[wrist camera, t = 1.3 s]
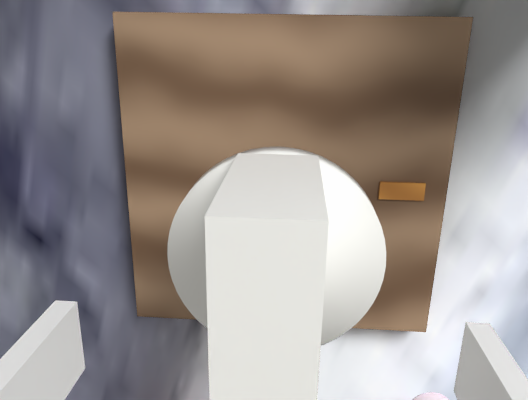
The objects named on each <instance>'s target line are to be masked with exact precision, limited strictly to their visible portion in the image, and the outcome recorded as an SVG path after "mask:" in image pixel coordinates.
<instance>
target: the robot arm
mask: <svg viewBox="0 0 528 400" xmlns="http://www.w3.org/2000/svg"><path fill="white" fill-rule="evenodd" d="M84 369H85V363H84V355H83V346H82V338H81V330H80V322H79V314H78V306H77V302H74V301H55V302H54V303H53V304H52V305H51V306H50V307H49V308H48V309H47V310H46V311H45V312H44V313H43V314H42V315H41V316H40V317H39V319H38V320H37V321H36V322H35V323H34V324H33V325H32V326H31V327H30V328H29V329H28V330H27V331H26V332H25V333H24V334H23V336H22V337H21V338H20V339H19V340H18V341H17V342H16V343H15V344H14V345H13V346H12V347H11V348H10V349H9V350H8V351H7V353H6V354H5V355H4V356H3V357H2V358H1V359H0V400H65V398H66V397H67V395H68V394H69V392H70V391H71V389H72V388H73V386H74V385H75V383H76V382H77V380H78V379H79V377H80V376H81V374H82V372H83V371H84ZM454 393H455V395H456V397H457V400H528V379H527V378H526V376H525V375H524V373H523V372H522V370H521V369H520V367H519V366H518V364H517V363H516V361H515V360H514V358H513V357H512V356H511V354H510V353H509V351H508V350H507V348H506V347H505V345H504V344H503V342H502V341H501V339H500V338H499V336H498V335H497V333H496V332H495V330H494V329H493V328H492V326H491V325H490V323H471V322H466V324H465V330H464V336H463V341H462V347H461V353H460V358H459V364H458V370H457V375H456V381H455V387H454Z"/></svg>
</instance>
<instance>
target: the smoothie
mask: <svg viewBox="0 0 528 400" xmlns="http://www.w3.org/2000/svg"><path fill="white" fill-rule="evenodd" d="M413 400H449V399H448V398H447V397H445V396H444V395H442V394H439V393H434V392H429V393H423V394H421V395H418V396H417V397H415V398H414V399H413Z"/></svg>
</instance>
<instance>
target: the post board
mask: <svg viewBox="0 0 528 400" xmlns="http://www.w3.org/2000/svg"><path fill="white" fill-rule="evenodd" d="M472 21H473V17H435V16H366V15H298V14H229V13H161V12H113V24H114V37H115V49H116V61H117V73H118V85H119V98H120V110H121V122H122V134H123V146H124V159H125V171H126V183H127V195H128V207H129V220H130V232H131V244H132V256H133V268H134V281H135V293H136V305H137V316H142V317H161V318H179V319H196V318H195V317H194V316H193V315H192V314H191V313H190V311H189V310H188V309H187V307H186V306H185V305H184V303H183V302H182V300H181V298H180V297H179V295H178V293H177V291H176V289H175V286H174V284H173V281H172V278H171V274H170V271H169V265H168V257H167V250H168V238H169V231H170V228H171V225H172V221H173V218H174V216H175V214H176V212H177V210H178V208H179V206H180V204H181V203H182V201H183V200H184V198H185V197H186V195H187V194H188V193H189V191H190V190H191V188H192V187H193V186H194V184H195V183H196V182H197V181H198V180H199V179H200V178H201V177H202V175H203V174H205V173H206V172H207V171H208V170H209V169H211V168H212V167H213V166H215V165H216V164H218V163H219V162H221V161H223V160H224V159H226V158H228V157H231V156H233V155H235V154H237V153H240V152H244V151H247V150H250V149H256V148H262V147H289V148H296V149H300V150H305V151H309V152H311V153H314V154H317V155H320V156H322V157H324V158H326V159H328V160H330V161H331V162H333V163H335V164H336V165H338V166H339V167H341V168H342V169H343V170H345V171H346V172H347V173H348V174H349V175H350V176H351V177H352V178H354V179H355V180H356V181H357V183H358V184H359V185H360V186H361V188H362V189H363V190H364V191H365V193H366V195H367V196H368V198H369V200H370V201H371V203H372V206H373V208H374V210H375V213H376V215H377V217H378V220H379V222H380V224H381V227H382V230H383V234H384V238H385V245H386V268H385V274H384V279H383V282H382V285H381V288H380V291H379V293H378V295H377V297H376V299H375V301H374V303H373V304H372V306H371V307H370V309H369V310H368V311H367V313H366V314H365V315H364V316H363V317H362V319H361V320H360V321H359V322H358V323H357V324H356V325H354V326H353V327H352V328H361V329H380V330H398V331H416V332H426V327H427V321H428V314H429V307H430V301H431V294H432V288H433V281H434V274H435V268H436V261H437V254H438V248H439V241H440V234H441V228H442V221H443V214H444V208H445V201H446V194H447V188H448V181H449V174H450V168H451V161H452V154H453V148H454V141H455V134H456V128H457V121H458V115H459V108H460V101H461V95H462V88H463V81H464V75H465V68H466V61H467V55H468V48H469V41H470V35H471V28H472Z"/></svg>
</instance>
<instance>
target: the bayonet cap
mask: <svg viewBox="0 0 528 400" xmlns="http://www.w3.org/2000/svg"><path fill="white" fill-rule="evenodd" d="M167 257H168V265H169V271H170V274H171V278H172V281H173V284H174V286H175V289H176V291H177V293H178V295H179V297H180V298H181V300H182V302H183V303H184V305H185V306H186V307H187V309H188V310H189V311H190V313H191V314H192V315H193V316H194V317H195V318H196V319H197V320H198V321H199V322H200V323H201V324H202V325H203V326H205V327H206V328H207V329H208V364H209V400H317V393H318V378H319V363H320V347H321V345H324V344H326V343H328V342H330V341H332V340H334V339H336V338H338V337H340V336H341V335H343V334H344V333H346V332H347V331H348V330H350V329H351V328H352V327H353V326H354V325H356V324H357V323H358V322H359V321H360V320H361V319H362V317H363V316H364V315H365V314H366V313H367V311H368V310H369V309H370V307H371V306H372V304H373V303H374V301H375V299H376V297H377V295H378V293H379V291H380V288H381V285H382V282H383V279H384V274H385V268H386V245H385V238H384V234H383V230H382V227H381V224H380V222H379V220H378V217H377V215H376V213H375V210H374V208H373V206H372V203H371V201H370V200H369V198H368V196H367V195H366V193H365V191H364V190H363V189H362V188H361V186H360V185H359V184H358V183H357V181H356V180H355V179H354V178H352V177H351V176H350V175H349V174H348V173H347V172H346V171H345V170H343V169H342V168H341V167H339V166H338V165H336V164H335V163H333V162H331V161H330V160H328V159H326V158H324V157H322V156H320V155H317V154H314V153H311V152H309V151H305V150H300V149H296V148H289V147H262V148H256V149H250V150H247V151H244V152H240V153H237V154H235V155H233V156H231V157H228V158H226V159H224V160H223V161H221V162H219V163H218V164H216V165H215V166H213V167H212V168H211V169H209V170H208V171H207V172H206V173H205V174H203V175H202V177H201V178H200V179H199V180H198V181H197V182H196V183H195V184H194V186H193V187H192V188H191V190H190V191H189V193H188V194H187V195H186V197H185V198H184V200H183V201H182V203H181V204H180V206H179V208H178V210H177V212H176V214H175V216H174V218H173V221H172V225H171V228H170V231H169V238H168V250H167Z"/></svg>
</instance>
